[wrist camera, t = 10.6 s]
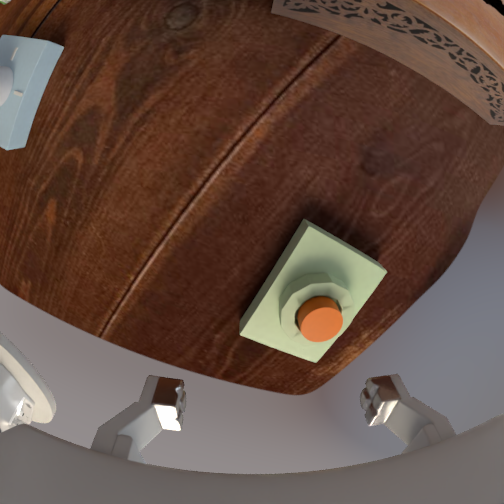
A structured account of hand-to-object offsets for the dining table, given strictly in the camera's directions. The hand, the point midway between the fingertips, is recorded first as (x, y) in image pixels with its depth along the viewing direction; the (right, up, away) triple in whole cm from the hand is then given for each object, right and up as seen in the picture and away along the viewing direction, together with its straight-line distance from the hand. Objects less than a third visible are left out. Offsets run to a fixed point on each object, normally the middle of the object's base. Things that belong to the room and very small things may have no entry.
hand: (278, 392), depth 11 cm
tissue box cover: (+15, +30, +5) cm, 34 cm away
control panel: (-26, +23, +7) cm, 35 cm away
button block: (+4, +2, +16) cm, 17 cm away
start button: (+5, +1, +13) cm, 14 cm away
